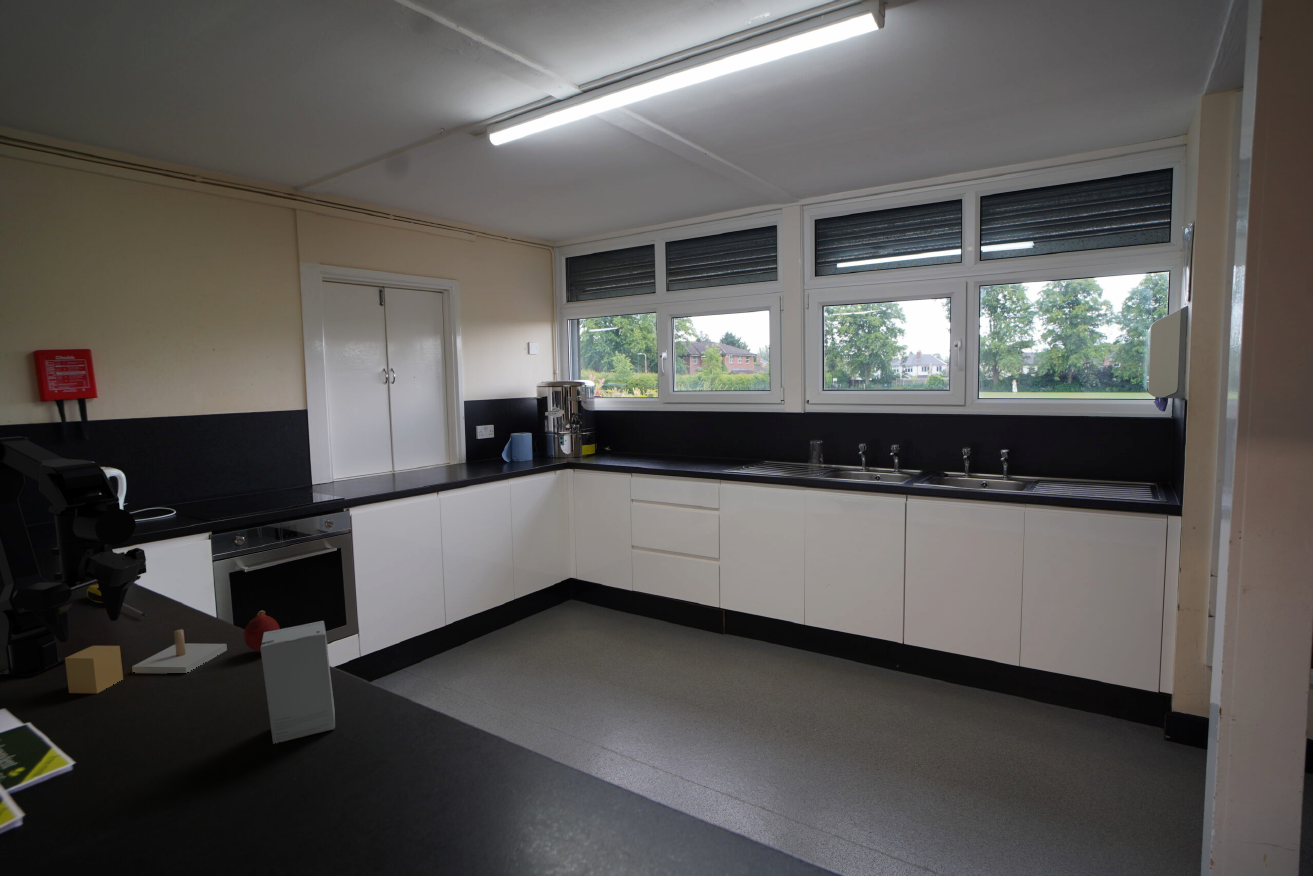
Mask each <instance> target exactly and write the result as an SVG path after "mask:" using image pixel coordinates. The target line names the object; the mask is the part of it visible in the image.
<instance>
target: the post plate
mask: <svg viewBox="0 0 1313 876" xmlns="http://www.w3.org/2000/svg"><path fill="white" fill-rule="evenodd" d="M173 634H174V644H173V645H171V646H169V647H167V648H165V649H164V650H161V651H159V652H157V653H156V654H153V655H152V656H150V657H147V658H146V659H144V660H142V661H140V662H138V663H136V664H134V665H132V666H131V668H132V673H133V672H135V673H134V674H167V673H187V672H189V673H190V672H192V671H194V670H195V669H197V668H199V667H201V666H203V665H204V664H206V663H207V662H209V661H211V660H213V659H214V658H216V657H218V656H220V655H221V654H223V653H225V652H226V651H228V648H227V647H228V646H227V643H185V631H184V629H177V630H174V631H173ZM217 655H218V656H217ZM205 662H206V663H205ZM203 663H204V664H203ZM200 665H201V666H200ZM198 666H199V667H198ZM196 667H197V668H196ZM193 669H194V670H193ZM191 670H192V671H191ZM187 674H188V673H187Z"/></svg>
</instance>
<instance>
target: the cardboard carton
mask: <svg viewBox="0 0 1313 876" xmlns="http://www.w3.org/2000/svg"><path fill="white" fill-rule="evenodd" d="M121 655H122V653H121V646H120V645H90V646H89V647H87V648H84V649H81V650H80V651H77V652H75V653H73V654H70V655H69V656H66V657H64V658H65V670H66V679H67V687H68V694H99V693H101V692H103V691H104V690H106V688H107V689H109V688H110V687H112V686H113V684H114V685H116V684H118V683H120V682H121V680H122V681H123V680H124V675H123V674H124V672H123V664H122V656H121ZM119 681H120V682H119ZM117 682H118V683H117Z"/></svg>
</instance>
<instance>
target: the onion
mask: <svg viewBox="0 0 1313 876" xmlns="http://www.w3.org/2000/svg"><path fill="white" fill-rule="evenodd" d="M279 629H281V628H280V625H279V623H278V621H277V620H276V619H274V618H273V617H272V616H269V615H266V611H265V610H260V611H258V612H257V614H256V615H255V617H254V618H252V619H251V620H250V621H249V622H248V624H247V625H246V627H245V628H244V633H243V639H244V640H243V641H244V643H245V645H246V646H247V647H248V648H249V649H251V650H253V651H255V652H258V653H261V649H260V647H261V644H262V639H263V634H264V632H269V631H274V630H279Z"/></svg>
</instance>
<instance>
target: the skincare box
mask: <svg viewBox="0 0 1313 876" xmlns="http://www.w3.org/2000/svg"><path fill="white" fill-rule="evenodd" d="M327 639H328V638H327V632H326V625H325V621H324V620H320V621H315V622H311V623H305V624H300V625H295V626H291V627H290V626H289V627H285V628H280V629H279V630H274V631H269V632H264V634H263V639H262V644H261V647H260V649H261V652H260V656H261V662H262V671H263V677H264V685H265V692H266V700H267V707H268V716H269V722H270V724H269V725H270V731H271V737H272V744H273V745H276V744H278V743H279V742H280V743H284V742H288V741H290V740H294V739H295V740H296V739H299V738H304V737H307V736H311V735H315V734H319V733H324V732H327V731H332V730H335V728H336V716H335V714H336V712H335V703H334V702H335V701H334V695H333V693H334V692H333V685H332V677H331V668H330V660H329V658H330V657H329V649H328V648H329V647H328V640H327ZM275 743H276V744H275Z"/></svg>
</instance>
